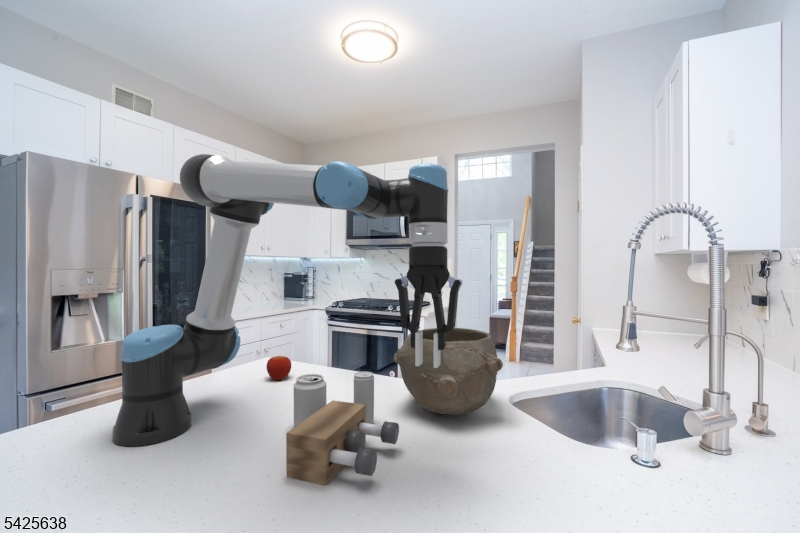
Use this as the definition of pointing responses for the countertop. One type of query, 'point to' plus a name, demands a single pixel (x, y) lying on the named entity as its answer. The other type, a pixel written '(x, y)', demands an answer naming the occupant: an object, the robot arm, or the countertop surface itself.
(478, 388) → the bowl
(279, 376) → the apple
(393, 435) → the knob
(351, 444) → the knob
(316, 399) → the can
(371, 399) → the beverage can
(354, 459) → the knob
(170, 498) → the countertop surface
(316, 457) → the block
